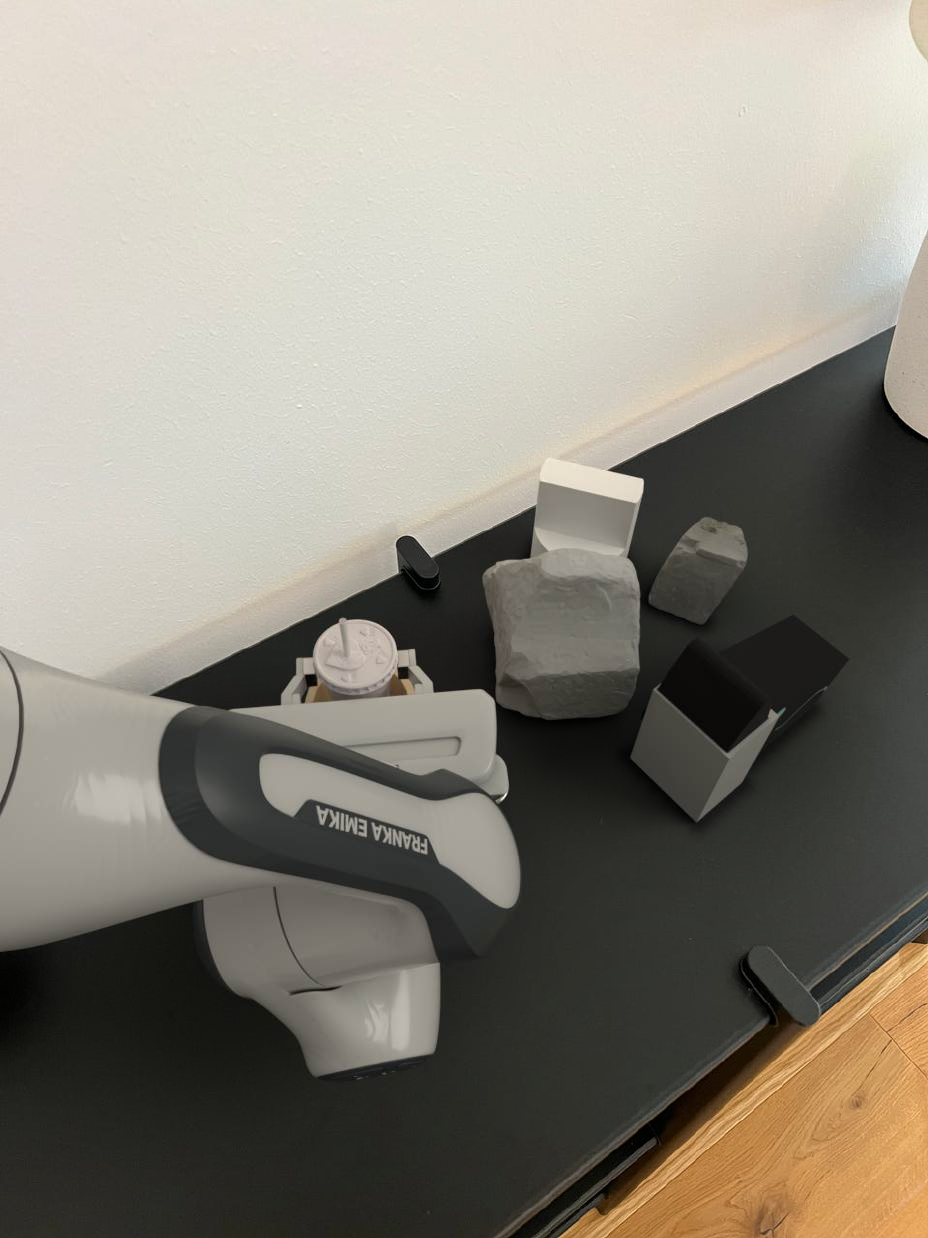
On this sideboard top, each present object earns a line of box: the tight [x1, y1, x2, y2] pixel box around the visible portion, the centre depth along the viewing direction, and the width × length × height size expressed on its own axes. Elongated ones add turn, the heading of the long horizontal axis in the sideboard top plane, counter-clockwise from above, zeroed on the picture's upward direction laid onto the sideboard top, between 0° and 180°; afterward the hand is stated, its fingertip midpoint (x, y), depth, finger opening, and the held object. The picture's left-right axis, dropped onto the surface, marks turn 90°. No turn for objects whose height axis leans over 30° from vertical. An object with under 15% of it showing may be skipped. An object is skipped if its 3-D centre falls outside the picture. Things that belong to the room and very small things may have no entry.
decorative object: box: [629, 614, 850, 823], centre depth 76 cm, size 8×18×15 cm, turn 130°
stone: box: [481, 548, 641, 721], centre depth 79 cm, size 12×12×15 cm
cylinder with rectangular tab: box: [529, 457, 645, 559], centre depth 87 cm, size 9×9×12 cm
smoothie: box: [312, 617, 398, 701], centre depth 73 cm, size 6×6×14 cm
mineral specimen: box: [648, 516, 749, 625], centre depth 87 cm, size 7×9×8 cm
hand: (355, 657), depth 73 cm, fingers closed on smoothie, 6 cm apart
